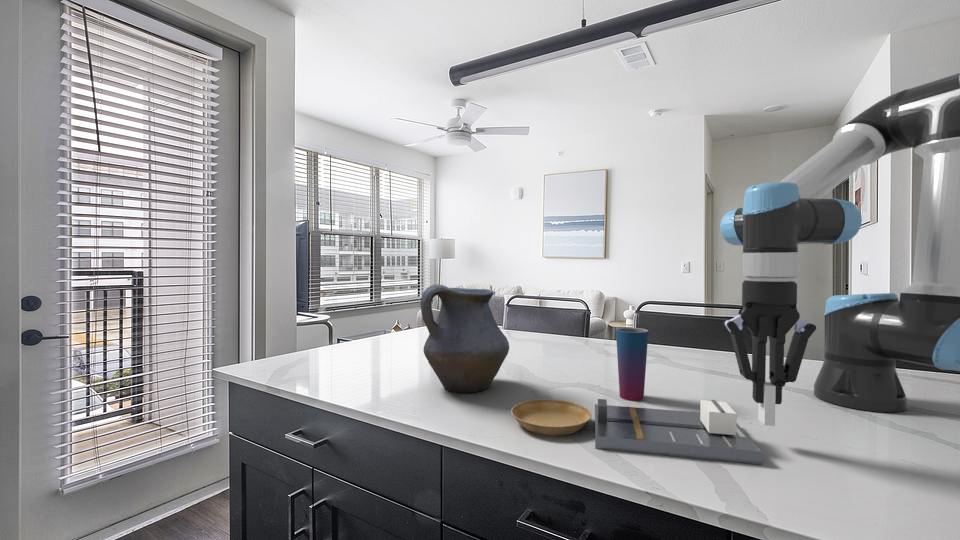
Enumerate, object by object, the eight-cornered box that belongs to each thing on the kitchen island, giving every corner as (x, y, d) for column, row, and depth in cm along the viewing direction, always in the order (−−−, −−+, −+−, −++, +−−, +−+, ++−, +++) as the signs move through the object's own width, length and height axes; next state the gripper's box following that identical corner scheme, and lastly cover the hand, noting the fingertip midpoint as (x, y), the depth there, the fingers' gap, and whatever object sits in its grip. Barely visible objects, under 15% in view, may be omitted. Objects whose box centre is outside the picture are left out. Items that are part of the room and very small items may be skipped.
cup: (650, 403, 94) (651, 332, 94) (617, 401, 95) (617, 331, 95) (645, 393, 101) (645, 327, 100) (614, 391, 102) (614, 327, 102)
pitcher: (527, 390, 103) (527, 283, 102) (446, 408, 91) (445, 287, 90) (477, 372, 120) (477, 280, 119) (404, 385, 108) (403, 283, 107)
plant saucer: (495, 422, 84) (495, 408, 84) (549, 406, 93) (549, 394, 93) (552, 449, 72) (552, 433, 72) (608, 428, 81) (608, 413, 81)
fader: (725, 421, 77) (725, 400, 77) (736, 435, 71) (736, 412, 71) (700, 419, 78) (700, 399, 78) (709, 432, 72) (709, 410, 72)
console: (729, 425, 81) (729, 398, 81) (761, 464, 66) (762, 431, 66) (594, 414, 87) (594, 389, 87) (595, 448, 72) (595, 417, 72)
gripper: (804, 278, 74) (801, 418, 75) (718, 278, 77) (716, 411, 78) (827, 281, 67) (824, 435, 68) (731, 280, 70) (729, 427, 71)
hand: (766, 422), depth 73 cm, fingers closed
